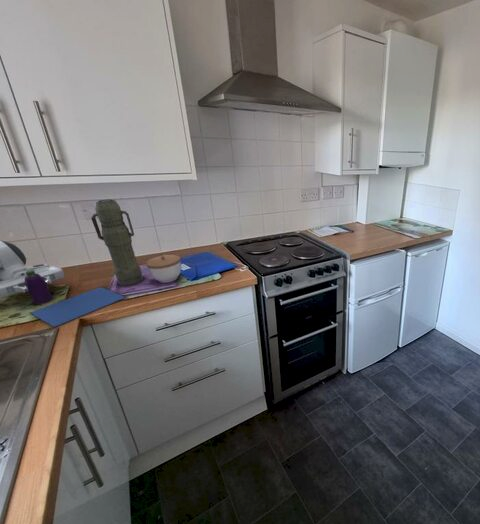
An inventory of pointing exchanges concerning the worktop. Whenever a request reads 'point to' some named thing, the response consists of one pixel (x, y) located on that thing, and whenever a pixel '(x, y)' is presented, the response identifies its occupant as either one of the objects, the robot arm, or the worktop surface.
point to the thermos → (118, 241)
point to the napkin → (77, 306)
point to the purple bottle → (37, 288)
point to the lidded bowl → (164, 268)
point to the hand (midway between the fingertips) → (37, 286)
